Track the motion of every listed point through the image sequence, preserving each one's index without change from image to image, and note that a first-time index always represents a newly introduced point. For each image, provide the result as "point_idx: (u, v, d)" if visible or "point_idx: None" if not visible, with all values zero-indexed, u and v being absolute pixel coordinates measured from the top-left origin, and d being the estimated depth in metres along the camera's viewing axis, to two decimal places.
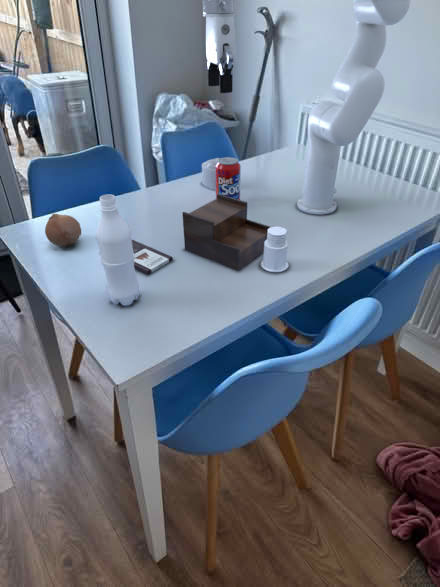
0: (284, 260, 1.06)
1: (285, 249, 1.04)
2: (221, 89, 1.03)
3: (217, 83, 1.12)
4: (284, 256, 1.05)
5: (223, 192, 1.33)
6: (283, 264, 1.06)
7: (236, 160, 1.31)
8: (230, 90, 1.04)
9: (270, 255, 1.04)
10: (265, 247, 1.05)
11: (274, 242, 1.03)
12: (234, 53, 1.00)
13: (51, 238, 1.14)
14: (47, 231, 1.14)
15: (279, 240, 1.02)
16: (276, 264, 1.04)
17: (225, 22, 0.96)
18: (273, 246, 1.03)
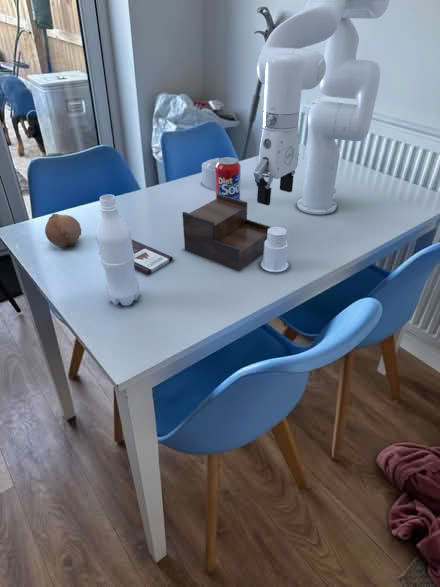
0: (284, 260, 1.06)
1: (285, 249, 1.04)
2: (258, 199, 0.96)
3: (287, 189, 1.01)
4: (284, 256, 1.05)
5: (223, 192, 1.33)
6: (283, 264, 1.06)
7: (236, 160, 1.31)
8: (267, 203, 0.95)
9: (270, 255, 1.04)
10: (265, 247, 1.05)
11: (274, 242, 1.03)
12: (273, 169, 0.90)
13: (51, 238, 1.14)
14: (47, 231, 1.14)
15: (279, 240, 1.02)
16: (276, 264, 1.04)
17: (267, 137, 0.88)
18: (273, 246, 1.03)
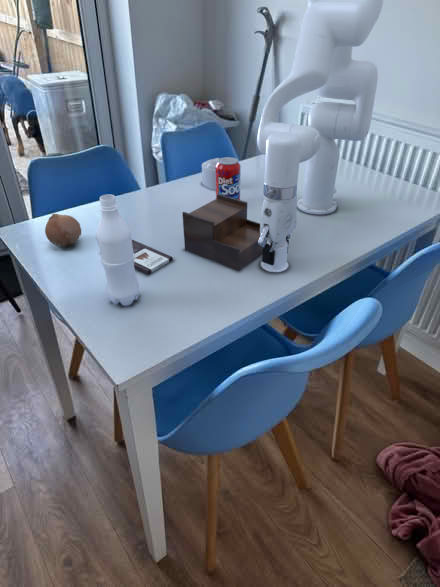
0: (284, 260, 1.06)
1: (285, 249, 1.04)
2: (263, 259, 1.06)
3: None
4: (284, 256, 1.05)
5: (223, 192, 1.33)
6: (283, 264, 1.06)
7: (236, 160, 1.31)
8: (271, 263, 1.05)
9: None
10: None
11: None
12: (274, 234, 0.98)
13: (51, 238, 1.14)
14: (47, 231, 1.14)
15: None
16: (276, 264, 1.04)
17: (268, 207, 0.96)
18: None
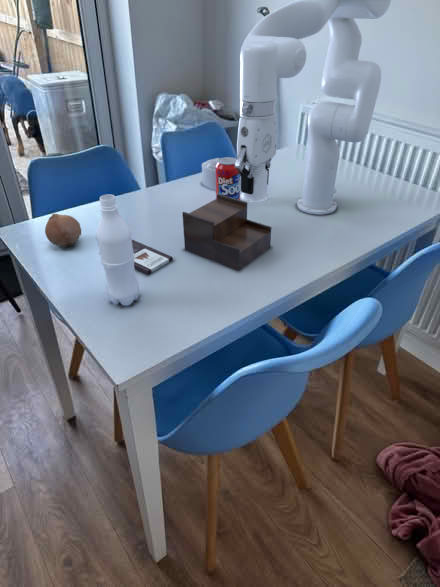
0: (264, 190, 1.00)
1: (265, 177, 0.98)
2: (242, 188, 0.99)
3: None
4: (264, 185, 0.99)
5: (223, 192, 1.33)
6: (263, 194, 1.00)
7: (236, 160, 1.31)
8: (250, 192, 0.98)
9: None
10: None
11: None
12: (251, 156, 0.92)
13: (51, 238, 1.14)
14: (47, 231, 1.14)
15: (258, 166, 0.96)
16: (255, 193, 0.98)
17: (244, 125, 0.90)
18: None
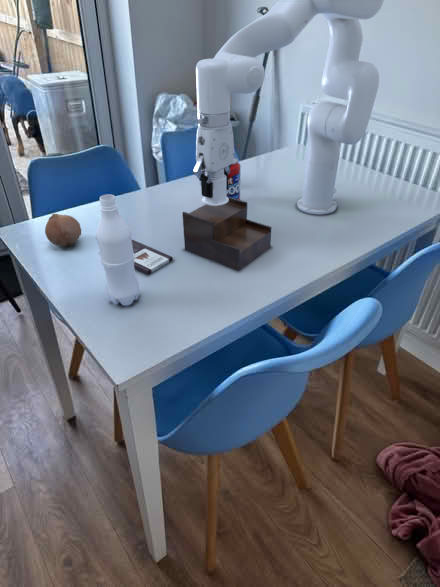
0: (223, 194, 1.08)
1: (223, 182, 1.06)
2: (202, 192, 1.08)
3: None
4: (223, 189, 1.07)
5: None
6: (222, 198, 1.08)
7: (236, 160, 1.31)
8: (209, 196, 1.07)
9: None
10: None
11: None
12: (208, 163, 1.00)
13: (51, 238, 1.14)
14: (47, 231, 1.14)
15: (216, 172, 1.04)
16: (214, 197, 1.06)
17: (201, 134, 0.98)
18: (211, 178, 1.05)
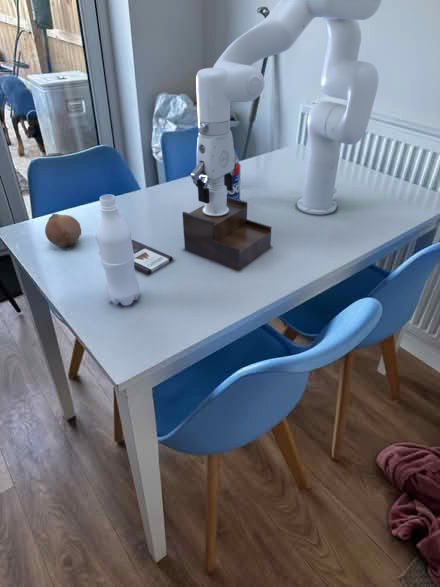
0: (223, 204, 1.10)
1: (223, 193, 1.08)
2: None
3: (228, 188, 1.12)
4: (223, 200, 1.09)
5: None
6: (223, 208, 1.10)
7: (236, 160, 1.31)
8: (206, 201, 1.06)
9: None
10: None
11: (212, 185, 1.06)
12: (209, 171, 1.01)
13: (51, 238, 1.14)
14: (47, 231, 1.14)
15: (216, 183, 1.06)
16: (215, 207, 1.08)
17: (202, 143, 0.99)
18: (211, 189, 1.07)
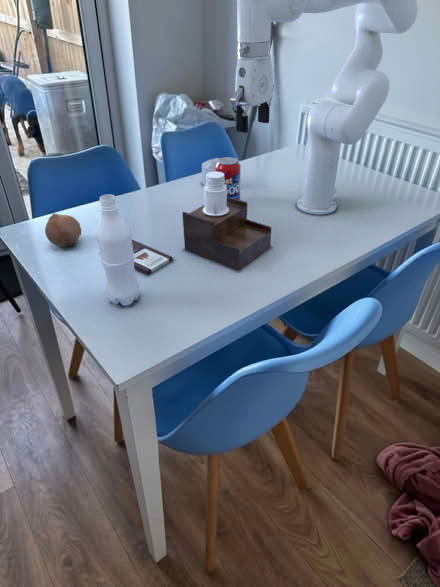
0: (223, 204, 1.10)
1: (223, 193, 1.08)
2: (237, 128, 1.05)
3: (265, 121, 1.10)
4: (223, 200, 1.09)
5: None
6: (223, 208, 1.10)
7: (236, 160, 1.31)
8: (245, 130, 1.04)
9: (209, 199, 1.08)
10: (204, 191, 1.09)
11: (212, 185, 1.06)
12: (249, 96, 0.99)
13: (51, 238, 1.14)
14: (47, 231, 1.14)
15: (216, 183, 1.06)
16: (215, 207, 1.08)
17: (242, 65, 0.97)
18: (211, 189, 1.07)
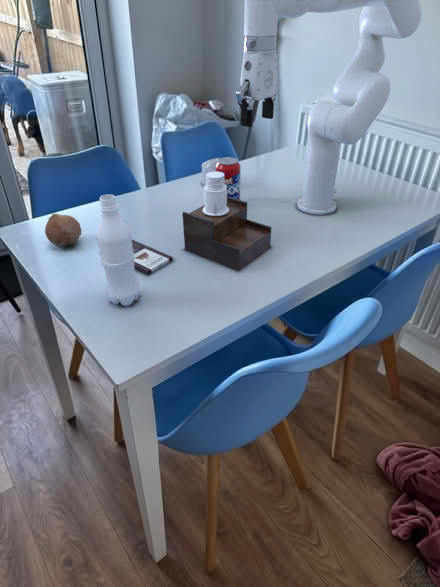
0: (223, 204, 1.10)
1: (223, 193, 1.08)
2: (241, 122, 1.05)
3: (269, 116, 1.10)
4: (223, 200, 1.09)
5: None
6: (223, 208, 1.10)
7: (236, 160, 1.31)
8: (249, 125, 1.04)
9: (209, 199, 1.08)
10: (204, 191, 1.09)
11: (212, 185, 1.06)
12: (254, 90, 0.99)
13: (51, 238, 1.14)
14: (47, 231, 1.14)
15: (216, 183, 1.06)
16: (215, 207, 1.08)
17: (248, 59, 0.97)
18: (211, 189, 1.07)
